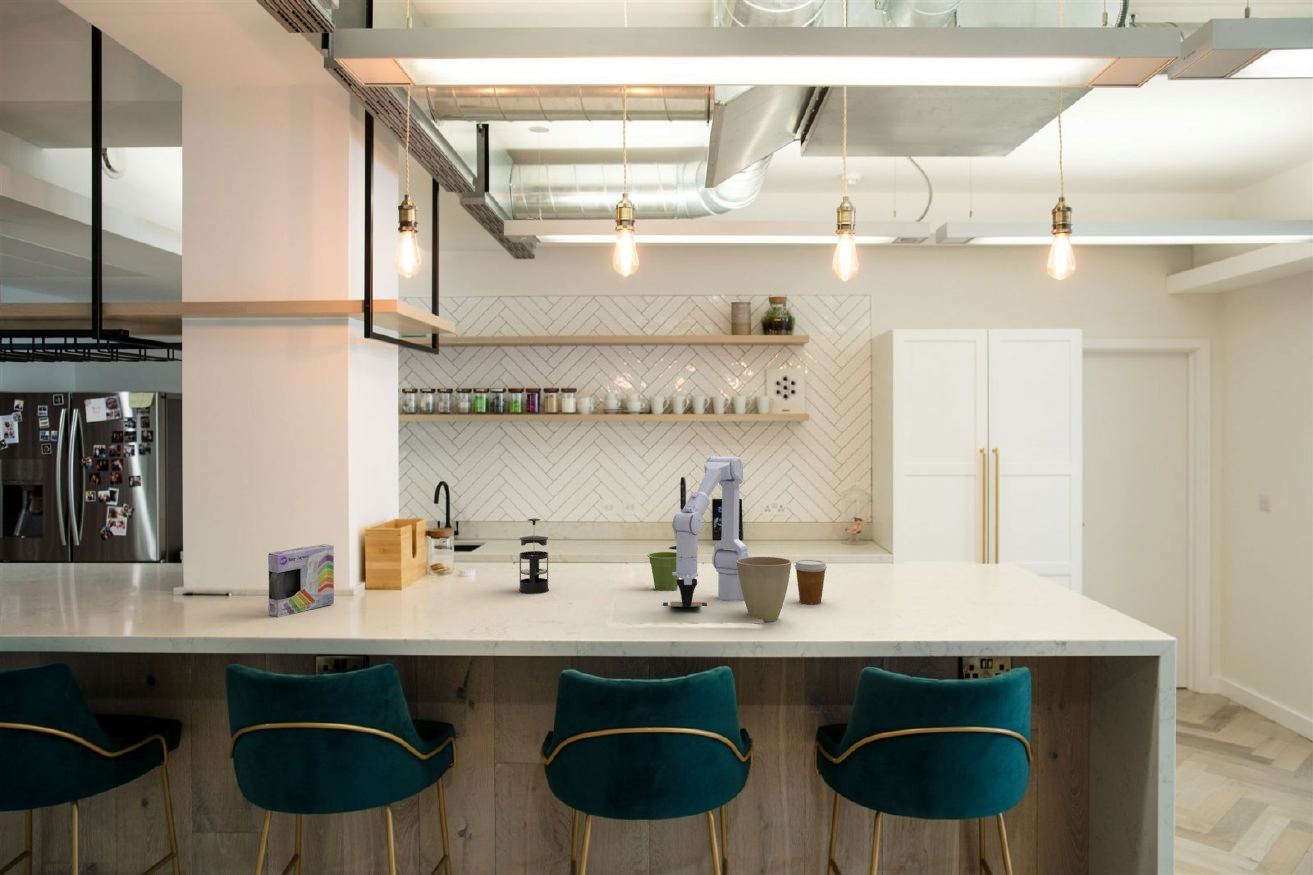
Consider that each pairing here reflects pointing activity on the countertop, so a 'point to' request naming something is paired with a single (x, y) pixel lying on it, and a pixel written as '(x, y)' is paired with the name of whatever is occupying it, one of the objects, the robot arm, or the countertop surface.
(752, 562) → the plant pot
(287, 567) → the cake pan box
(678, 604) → the tile
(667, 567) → the plant pot
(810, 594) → the disposable coffee cup
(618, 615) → the countertop surface
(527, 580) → the french press
